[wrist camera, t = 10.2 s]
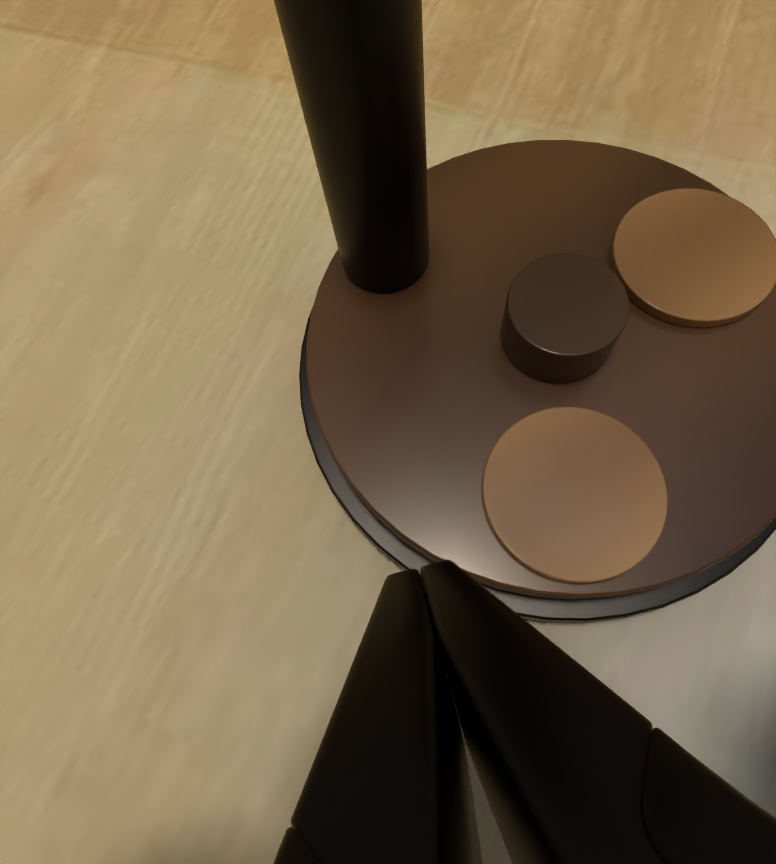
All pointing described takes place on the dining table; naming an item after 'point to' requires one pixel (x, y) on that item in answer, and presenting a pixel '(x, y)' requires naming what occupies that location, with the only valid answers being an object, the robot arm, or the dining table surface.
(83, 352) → the dining table surface
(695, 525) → the turntable with crank handle
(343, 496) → the base
